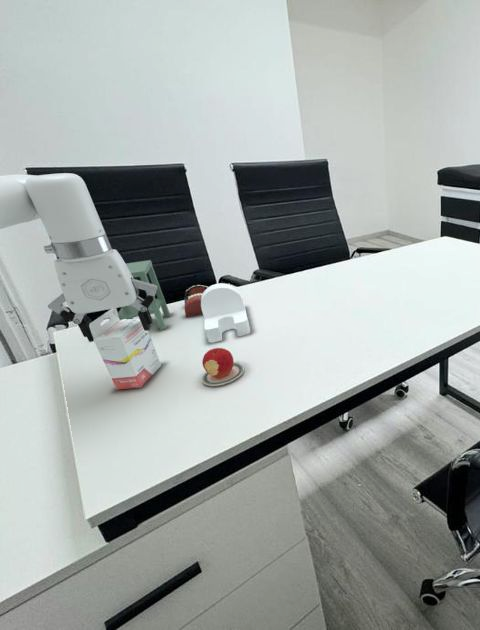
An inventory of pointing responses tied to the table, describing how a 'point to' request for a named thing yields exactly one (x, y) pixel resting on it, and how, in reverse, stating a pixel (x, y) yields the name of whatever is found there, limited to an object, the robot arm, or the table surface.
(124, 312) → the high shelf
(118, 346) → the ink cartridge box
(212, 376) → the apple
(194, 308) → the teeth model
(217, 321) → the white phone stand
